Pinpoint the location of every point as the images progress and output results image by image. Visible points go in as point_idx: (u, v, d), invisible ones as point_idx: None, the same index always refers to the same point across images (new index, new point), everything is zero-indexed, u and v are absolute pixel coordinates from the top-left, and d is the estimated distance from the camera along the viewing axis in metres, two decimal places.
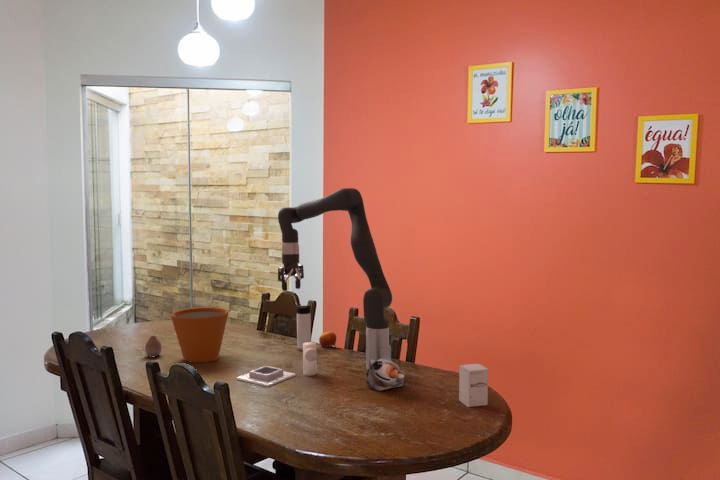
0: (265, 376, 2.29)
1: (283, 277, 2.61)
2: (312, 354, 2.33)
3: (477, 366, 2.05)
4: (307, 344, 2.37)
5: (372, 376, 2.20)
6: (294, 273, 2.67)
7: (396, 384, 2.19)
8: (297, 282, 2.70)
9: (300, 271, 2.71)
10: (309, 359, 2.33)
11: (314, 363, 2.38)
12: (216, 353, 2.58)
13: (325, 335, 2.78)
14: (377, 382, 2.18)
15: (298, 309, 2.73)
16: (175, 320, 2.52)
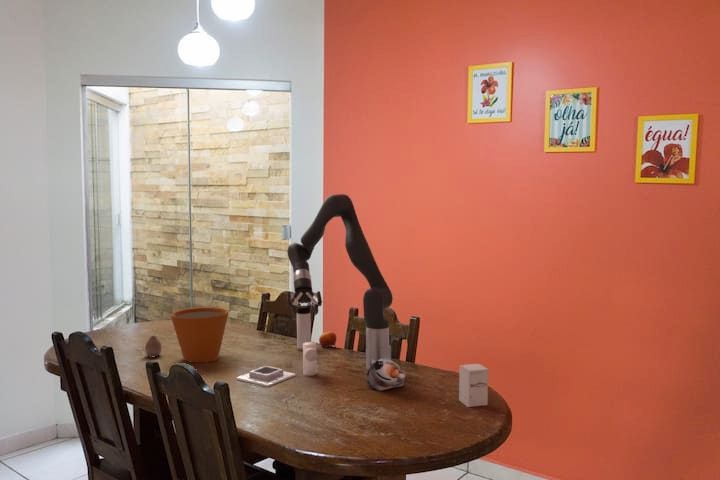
0: (265, 376, 2.29)
1: (289, 300, 2.50)
2: (312, 354, 2.33)
3: (477, 366, 2.05)
4: (307, 344, 2.37)
5: (373, 376, 2.20)
6: (306, 298, 2.53)
7: (397, 384, 2.19)
8: (314, 307, 2.51)
9: (318, 297, 2.54)
10: (309, 359, 2.33)
11: (314, 363, 2.38)
12: (216, 353, 2.58)
13: (325, 335, 2.78)
14: (378, 382, 2.18)
15: (298, 309, 2.73)
16: (175, 320, 2.52)
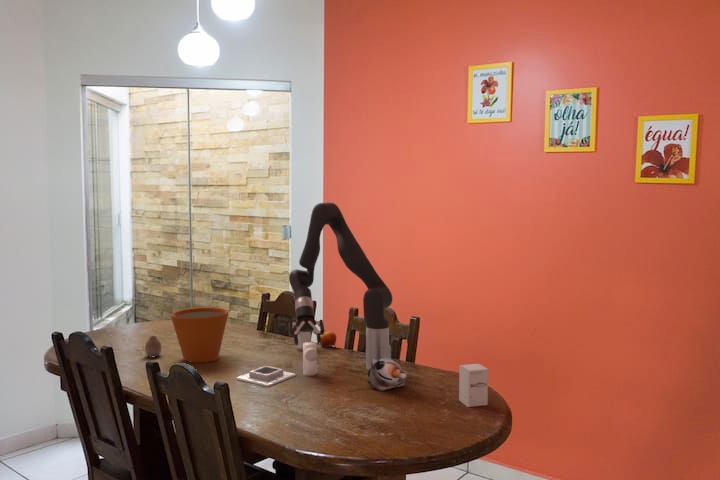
0: (265, 376, 2.29)
1: (291, 330, 2.45)
2: (312, 354, 2.33)
3: (477, 366, 2.05)
4: (307, 344, 2.37)
5: (374, 376, 2.20)
6: (309, 327, 2.47)
7: (398, 384, 2.19)
8: (317, 337, 2.46)
9: (320, 326, 2.49)
10: (309, 359, 2.33)
11: (314, 363, 2.38)
12: (216, 353, 2.58)
13: (325, 335, 2.78)
14: (379, 382, 2.18)
15: None
16: (175, 320, 2.52)
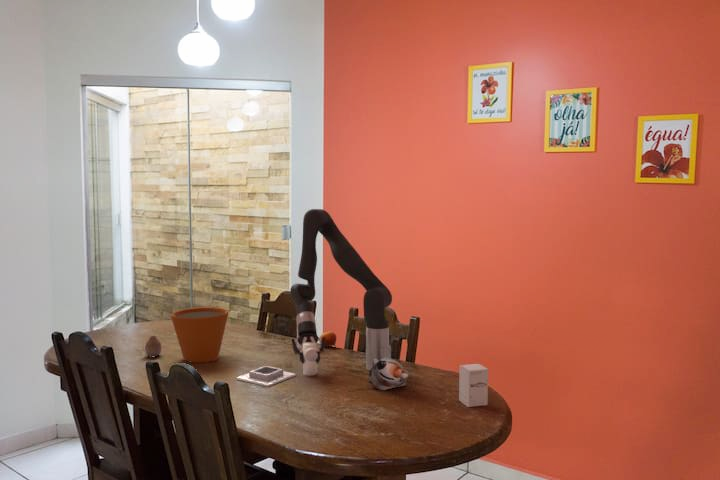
0: (265, 376, 2.29)
1: (296, 347, 2.39)
2: (312, 354, 2.33)
3: (477, 366, 2.05)
4: (307, 344, 2.37)
5: (375, 376, 2.20)
6: None
7: (399, 383, 2.19)
8: None
9: (321, 343, 2.43)
10: (309, 359, 2.33)
11: (315, 363, 2.38)
12: (216, 353, 2.58)
13: (325, 335, 2.78)
14: (381, 382, 2.18)
15: None
16: (175, 320, 2.52)
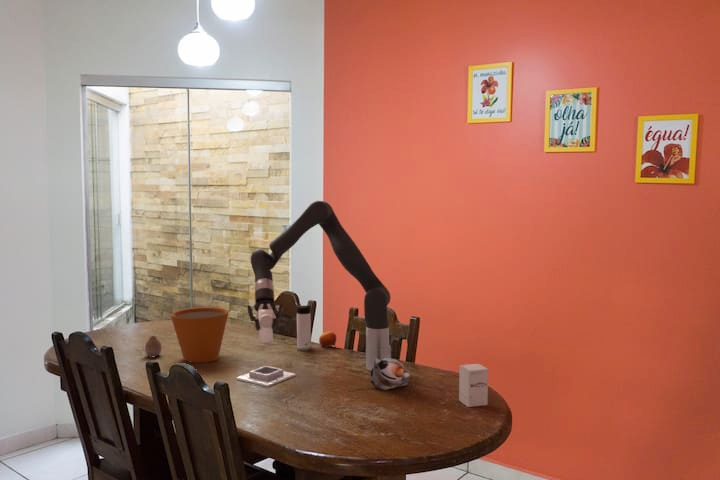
0: (265, 376, 2.29)
1: (252, 314, 2.33)
2: (267, 320, 2.27)
3: (477, 366, 2.05)
4: (263, 310, 2.32)
5: (377, 375, 2.20)
6: None
7: (401, 383, 2.20)
8: None
9: (278, 311, 2.37)
10: (264, 325, 2.27)
11: (270, 330, 2.32)
12: (216, 353, 2.58)
13: (325, 335, 2.78)
14: (382, 381, 2.19)
15: (298, 309, 2.73)
16: (175, 320, 2.52)
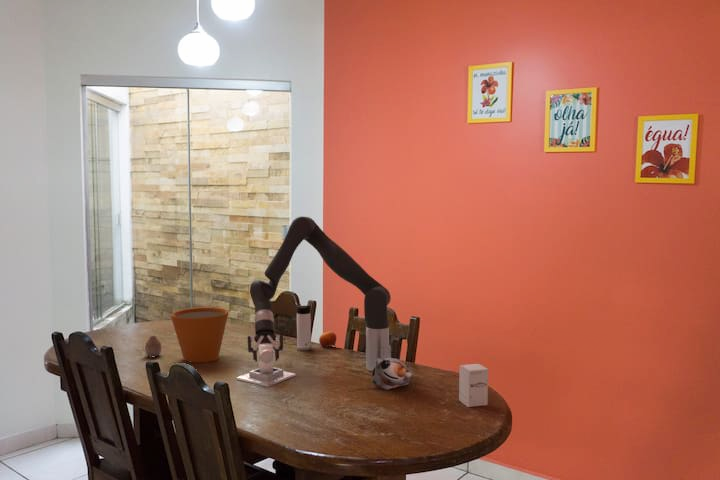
0: (265, 376, 2.29)
1: (250, 345, 2.34)
2: (267, 356, 2.28)
3: (477, 366, 2.05)
4: (263, 345, 2.32)
5: (379, 375, 2.21)
6: (267, 341, 2.36)
7: (403, 382, 2.20)
8: (275, 353, 2.35)
9: None
10: (264, 361, 2.28)
11: (271, 364, 2.33)
12: (216, 353, 2.58)
13: (325, 335, 2.78)
14: (384, 381, 2.19)
15: (298, 309, 2.73)
16: (175, 320, 2.52)
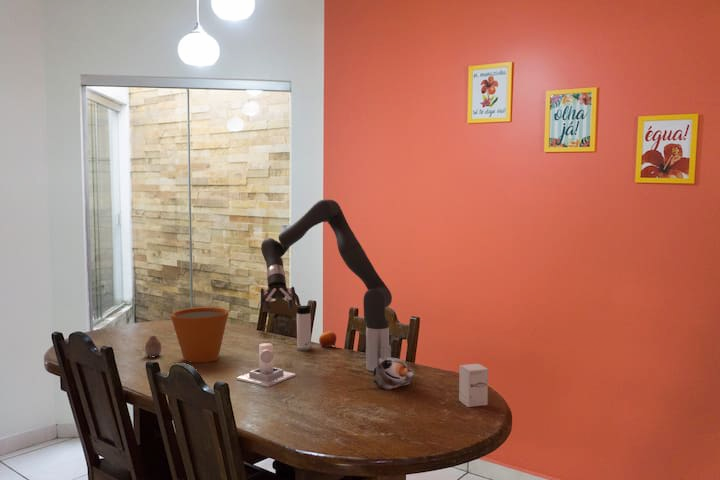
0: (265, 376, 2.29)
1: (263, 297, 2.45)
2: (267, 355, 2.28)
3: (477, 366, 2.05)
4: (263, 345, 2.33)
5: (380, 375, 2.21)
6: (280, 293, 2.48)
7: (404, 382, 2.21)
8: (288, 303, 2.46)
9: (292, 293, 2.49)
10: (264, 360, 2.28)
11: (271, 364, 2.33)
12: (216, 353, 2.58)
13: (325, 335, 2.78)
14: (386, 381, 2.19)
15: (298, 309, 2.73)
16: (175, 320, 2.52)
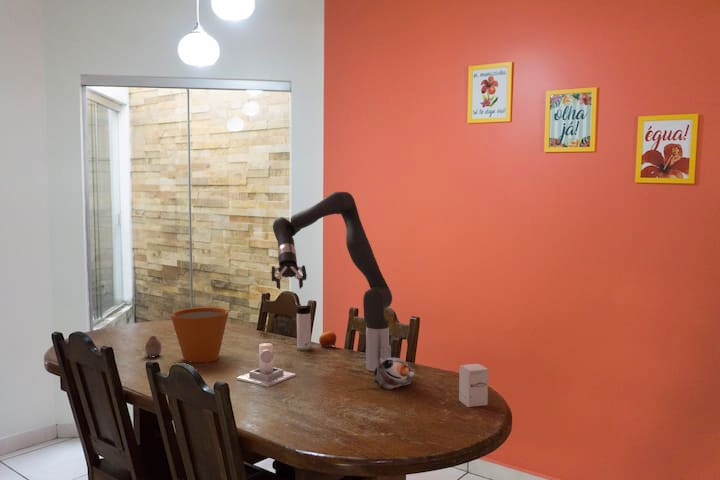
0: (265, 376, 2.29)
1: (273, 274, 2.47)
2: (267, 355, 2.28)
3: (477, 366, 2.05)
4: (263, 345, 2.33)
5: (382, 375, 2.21)
6: (291, 272, 2.50)
7: (406, 382, 2.21)
8: (299, 281, 2.48)
9: (302, 272, 2.51)
10: (264, 360, 2.28)
11: (271, 364, 2.33)
12: (216, 353, 2.58)
13: (325, 335, 2.78)
14: (387, 381, 2.20)
15: (298, 309, 2.73)
16: (175, 320, 2.52)
